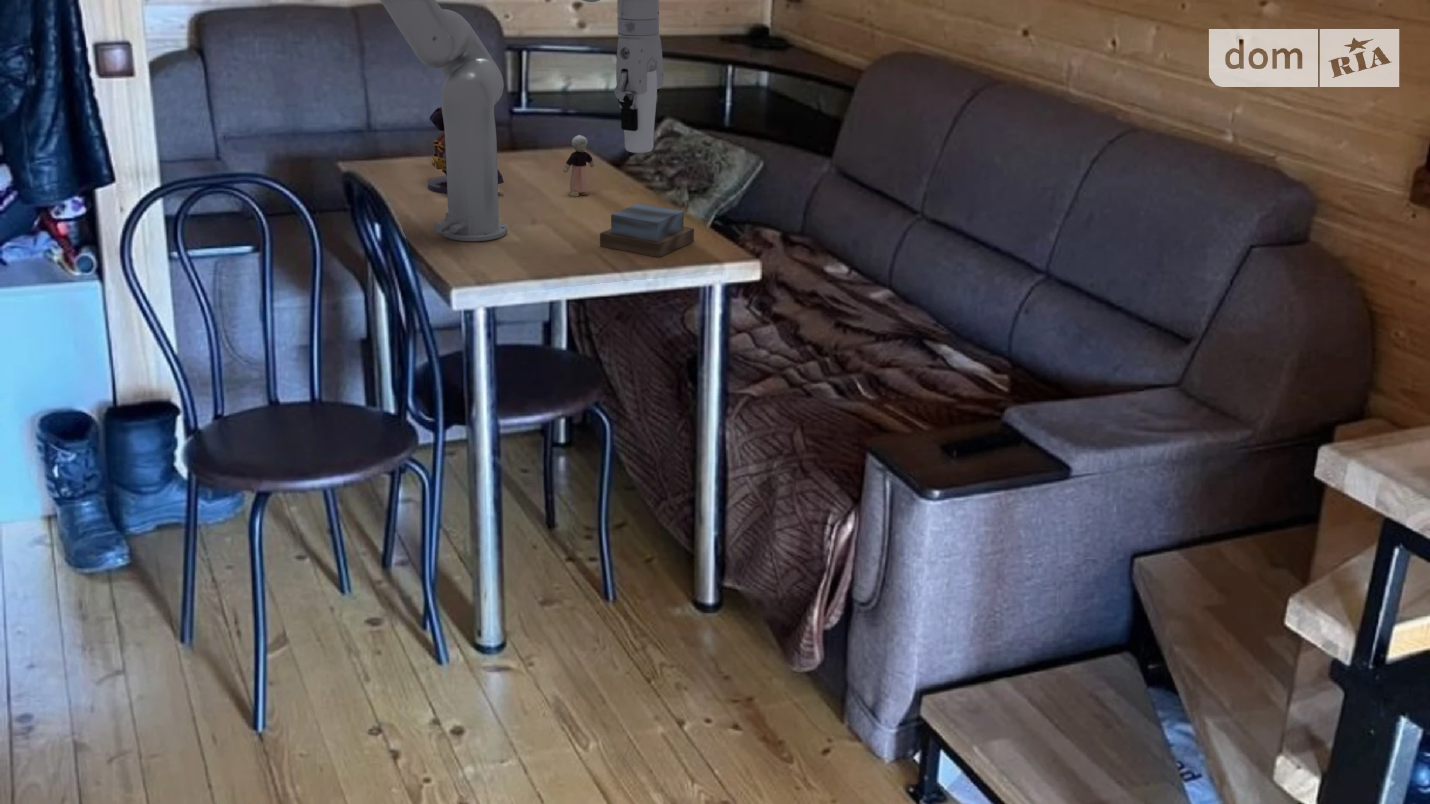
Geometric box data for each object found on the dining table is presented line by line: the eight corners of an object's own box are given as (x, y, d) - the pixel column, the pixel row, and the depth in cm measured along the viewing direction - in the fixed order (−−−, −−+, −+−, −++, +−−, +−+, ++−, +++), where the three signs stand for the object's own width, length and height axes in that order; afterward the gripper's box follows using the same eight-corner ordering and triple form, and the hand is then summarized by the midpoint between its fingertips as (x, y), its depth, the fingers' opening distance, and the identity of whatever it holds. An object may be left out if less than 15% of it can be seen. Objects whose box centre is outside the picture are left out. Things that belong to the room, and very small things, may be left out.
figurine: (506, 195, 303) (504, 117, 297) (442, 201, 298) (438, 121, 291) (478, 174, 320) (475, 99, 314) (417, 179, 314) (413, 102, 308)
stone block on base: (659, 257, 266) (660, 225, 263) (600, 245, 271) (600, 215, 269) (693, 241, 276) (694, 210, 274) (635, 230, 282) (636, 200, 280)
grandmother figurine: (574, 199, 303) (574, 139, 298) (561, 195, 305) (560, 136, 300) (598, 192, 308) (599, 133, 304) (585, 189, 311) (585, 131, 306)
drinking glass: (637, 145, 273) (636, 65, 267) (664, 150, 269) (664, 69, 263) (613, 150, 268) (612, 69, 262) (640, 156, 264) (640, 73, 259)
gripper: (632, 35, 251) (633, 137, 258) (679, 23, 266) (679, 120, 273) (595, 32, 255) (597, 133, 261) (644, 20, 269) (644, 116, 276)
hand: (639, 125), depth 267 cm, fingers closed on drinking glass, 6 cm apart
